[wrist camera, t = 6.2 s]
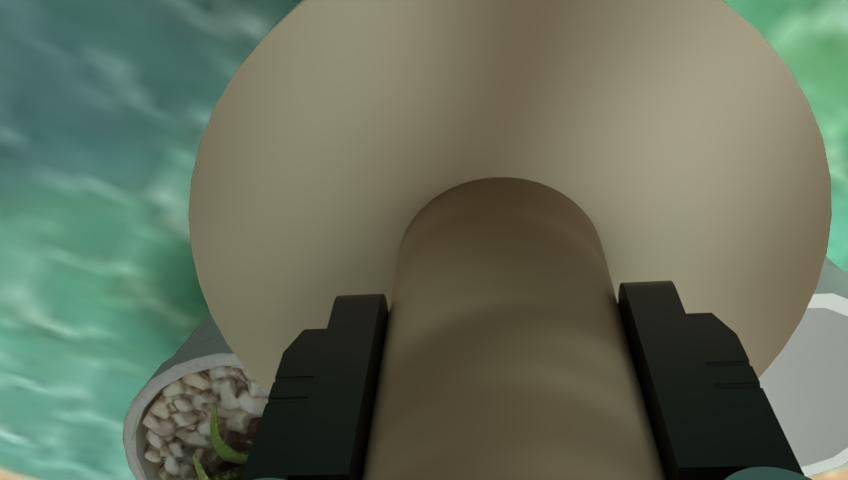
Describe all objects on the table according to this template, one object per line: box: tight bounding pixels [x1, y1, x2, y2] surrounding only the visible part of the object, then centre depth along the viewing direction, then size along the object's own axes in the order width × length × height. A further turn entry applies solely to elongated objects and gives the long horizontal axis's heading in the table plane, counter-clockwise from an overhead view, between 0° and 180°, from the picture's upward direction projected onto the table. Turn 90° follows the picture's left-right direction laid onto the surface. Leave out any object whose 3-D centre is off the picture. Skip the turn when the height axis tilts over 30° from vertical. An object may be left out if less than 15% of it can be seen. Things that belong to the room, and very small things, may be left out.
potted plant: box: [123, 313, 269, 480], centre depth 35 cm, size 13×14×20 cm
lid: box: [189, 0, 832, 480], centre depth 11 cm, size 11×11×8 cm
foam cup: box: [758, 256, 848, 476], centre depth 33 cm, size 10×9×13 cm
